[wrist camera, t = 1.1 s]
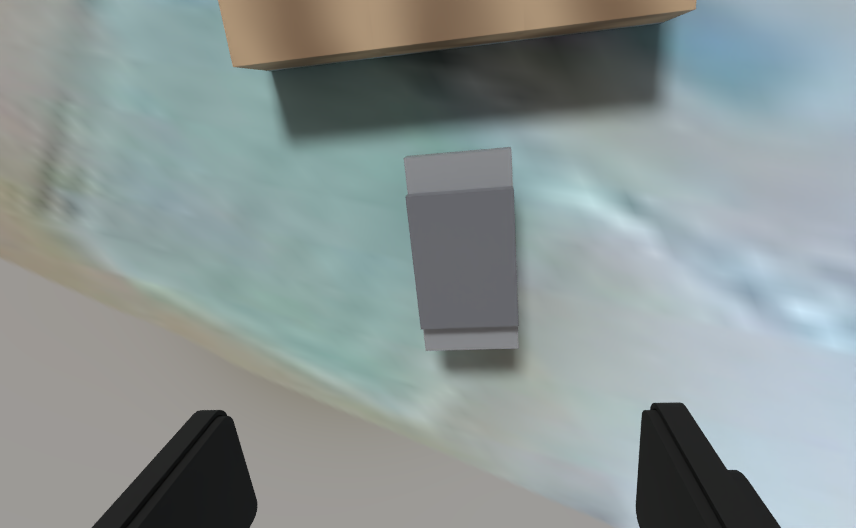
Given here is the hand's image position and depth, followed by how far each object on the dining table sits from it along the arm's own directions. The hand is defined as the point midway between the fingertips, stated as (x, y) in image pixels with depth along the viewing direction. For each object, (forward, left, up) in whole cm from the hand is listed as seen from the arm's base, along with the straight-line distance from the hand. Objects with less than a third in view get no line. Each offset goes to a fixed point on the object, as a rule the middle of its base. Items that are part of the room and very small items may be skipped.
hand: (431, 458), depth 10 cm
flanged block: (0, 0, -18) cm, 18 cm away
